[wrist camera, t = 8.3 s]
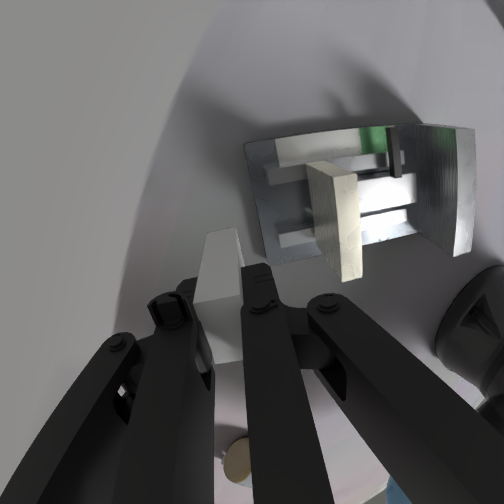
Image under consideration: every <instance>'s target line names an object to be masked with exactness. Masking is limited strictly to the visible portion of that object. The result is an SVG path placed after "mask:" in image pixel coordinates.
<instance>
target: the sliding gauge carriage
mask: <svg viewBox="0 0 504 504" xmlns="http://www.w3.org/2000/svg"><path fill="white" fill-rule="evenodd" d="M385 131H386V139H387V149H388V159H389V172H382V173H375V174H368V175H361V176H357V174H356V173H354V172H351V171H349V170H346V169H344V168H341V167H339V166H336V165H334V164H331V163H329V162H326V161H318V162H312V163H306V170H307V176H308V183H309V190H310V197H311V204H312V212H313V219H314V227H315V236H316V245H317V247H318V248H319V250H320V251H321V253H322V254H323V255H324V257H325V258H326V260H327V261H328V263H329V264H330V265H331V267H332V268H333V270H334V271H335V273H336V274H337V276H338V277H339V278H340V280H341V281H342V282H345V281H349V280H353V279H357V278H361V277H362V239H361V220H360V213H363V212H368V211H373V210H378V209H383V208H388V207H394V206H399V205H404V204H409V203H415V202H417V194H416V173H414V172H411V171H408V170H405V169H404V170H402V167H401V154H400V143H399V134H398V127H386V128H385Z"/></svg>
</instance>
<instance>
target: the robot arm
mask: <svg viewBox="0 0 504 504" xmlns="http://www.w3.org/2000/svg"><path fill="white" fill-rule="evenodd" d="M147 307H148V309H149V311H150V314H151V316H152V318H153V320H154V323H155V325H156V328H155V331H154V334H153V335H151V336H149V337H146V338H143V339H141V340H138V341H136V339H135V337H134V336H133V335H132V334H131V333H128V332H123V333H117V334H114V335H112V336H111V337H110V338H108V339H107V340H106V341H105V342H104V343H103V344H102V345H101V347H100V348H99V350H98V351H97V352H96V353H95V355H94V356H93V357H92V359H91V360H90V361H89V363H88V364H87V366H86V367H85V368H84V369H83V371H82V372H81V373H80V375H79V376H78V377H77V379H76V380H75V382H74V383H73V384H72V386H71V387H70V389H69V390H68V391H67V393H66V394H65V396H64V397H63V399H62V400H61V401H60V403H59V404H58V406H57V407H56V409H55V410H54V411H53V413H52V414H51V416H50V417H49V419H48V420H47V422H46V423H45V425H44V426H43V428H42V429H41V431H40V432H39V434H38V435H37V437H36V438H35V440H34V442H33V443H32V445H31V446H30V448H29V450H28V451H27V452H26V454H25V456H24V457H23V459H22V461H21V462H20V464H19V465H18V467H17V469H16V471H15V472H14V474H13V475H12V478H11V479H10V481H9V482H8V484H7V486H6V488H5V489H4V491H3V493H2V495H1V497H0V504H214V407H215V372H214V369H213V366H212V364H211V362H212V356H213V359H214V361H215V364H222V363H228V362H234V361H240V360H243V365H244V381H245V395H246V410H247V424H248V438H249V451H250V464H251V476H252V488H253V500H254V504H335V503H334V499H333V495H332V490H331V486H330V482H329V478H328V474H327V470H326V467H325V463H324V459H323V455H322V451H321V447H320V443H319V439H318V435H317V431H316V428H315V424H314V420H313V416H312V412H311V408H310V405H309V401H308V397H307V393H306V390H305V386H304V382H303V378H302V375H301V371H300V369H313V370H314V372H315V374H316V375H317V377H318V378H319V380H320V381H321V382H322V384H323V385H324V387H325V388H326V389H327V391H328V392H329V393H330V395H331V396H332V398H333V399H334V400H335V402H336V403H337V404H338V406H339V407H340V408H341V410H342V411H343V413H344V414H345V415H346V417H347V418H348V419H349V421H350V422H351V423H352V425H353V426H354V427H355V429H356V430H357V431H358V433H359V434H360V436H361V437H362V438H363V440H364V441H365V442H366V444H367V445H368V446H369V448H370V449H371V450H372V452H373V453H374V454H375V456H376V457H377V458H378V460H379V461H380V462H381V463H382V465H383V466H384V467H385V469H386V470H387V471H388V473H389V474H390V477H389V480H388V483H387V488H386V504H504V267H503V266H494V267H491V268H489V269H487V270H485V271H483V272H482V273H480V274H479V275H478V276H476V277H475V278H474V279H473V280H472V281H471V282H470V283H469V284H468V285H467V286H466V287H465V288H464V289H463V290H462V292H461V293H460V294H459V295H458V297H457V298H456V299H455V301H454V302H453V304H452V305H451V307H450V308H449V310H448V312H447V313H446V315H445V317H444V319H443V321H442V323H441V325H440V328H439V330H438V333H437V337H436V342H435V352H436V355H437V357H438V358H439V359H440V361H441V362H442V363H443V365H444V366H445V367H446V368H447V369H448V370H450V371H452V372H455V373H457V374H458V375H459V376H461V377H462V378H464V379H465V380H467V381H468V382H470V383H471V384H473V385H475V386H476V387H477V388H478V389H479V390H480V392H481V393H482V394H483V396H484V397H485V398H486V400H487V401H486V402H485V403H484V404H483V405H481V406H480V408H478V409H477V410H475V409H473V408H472V407H471V406H470V405H469V404H468V403H467V402H466V401H465V400H464V399H463V398H461V397H460V396H459V395H458V394H457V393H456V392H455V391H454V390H453V389H451V388H450V387H449V386H448V385H447V384H446V383H445V382H444V381H443V380H441V379H440V378H439V377H438V376H437V375H436V374H435V373H434V372H432V371H431V370H430V369H429V368H428V367H427V366H426V365H425V364H423V363H422V362H421V361H420V360H419V359H418V358H417V357H415V356H414V355H413V354H412V353H411V352H410V351H409V350H407V349H406V348H405V347H404V346H403V345H402V344H401V343H399V342H398V341H397V340H396V339H395V338H394V337H392V336H391V335H390V334H389V333H388V332H387V331H385V330H384V329H383V328H382V327H381V326H380V325H378V324H377V323H376V322H375V321H374V320H373V319H371V318H370V317H369V316H368V315H367V314H365V313H364V312H363V311H362V310H361V309H360V308H358V307H357V306H356V305H355V304H354V303H352V302H351V301H350V300H349V299H348V298H346V297H344V296H343V295H340V294H335V293H329V294H322V295H319V296H316V297H315V298H313V299H311V300H310V302H309V303H308V304H307V308H293V307H289V306H286V305H284V304H283V303H282V302H281V301H280V299H279V296H278V293H277V289H276V285H275V282H274V278H273V275H272V271H271V268H270V266H268V265H267V264H265V263H260V264H255V265H250V266H245V264H244V260H243V256H242V251H241V247H240V243H239V238H238V234H237V229H236V227H233V228H228V229H223V230H219V231H214V232H210V233H207V237H206V241H205V246H204V250H203V255H202V260H201V265H200V270H199V275H198V277H196V278H191V279H186V280H183V281H182V282H181V283H180V284H179V285H178V287H177V289H176V291H173V292H167V293H164V294H161V295H159V296H157V297H155V298H154V299H153V300H151V301H150V303H149V304H148V305H147ZM121 385H122V387H123V388H124V390H125V391H126V392H125V393H124V395H123V396H122V397H121V396H120V395H119V393H118V392H117V391H118V390H119V388H120V386H121Z"/></svg>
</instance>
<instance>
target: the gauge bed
mask: <svg viewBox="0 0 504 504" xmlns="http://www.w3.org/2000/svg"><path fill="white" fill-rule="evenodd" d="M386 127H398V134H399V143H400V154H401V167H402V170H404V169H405V170H408V171H411V172H414V173H416V194H417V202H415V203H409V204H404V205H399V206H394V207H388V208H383V209H378V210H373V211H368V212H363V213H360V220H361V239H362V245H367V244H371V243H375V242H380V241H384V240H388V239H392V238H397V237H401V236H405V235H409V234H413V233H419V234H421V235H422V236H424V237H425V238H427V239H428V240H430V241H431V242H433V243H434V244H435V245H437V246H438V247H440V248H441V249H442V250H444V251H445V252H447V253H448V254H449V255H451V256H452V257H455V256H458V255H461V254H465V253H468V252H470V251H471V246H472V238H473V228H474V217H475V201H476V144H475V129H470V128H463V127H456V126H447V125H438V124H427V123H413V124H391V125H376V126H363V127H353V128H343V129H334V130H325V131H318V132H310V133H303V134H296V135H290V136H284V137H278V138H272V139H266V140H261V141H256V142H250V143H245V144H244V149H245V154H246V158H247V163H248V168H249V173H250V178H251V183H252V188H253V193H254V198H255V203H256V208H257V213H258V218H259V223H260V228H261V233H262V238H263V243H264V248H265V253H266V258H267V262H268V266H273V265H278V264H282V263H287V262H291V261H296V260H300V259H305V258H310V257H314V256H319V255H323V254H322V253H321V251H320V250H319V248H318V247H317V245H316V236H315V227H314V219H313V212H312V204H311V197H310V190H309V183H308V176H307V170H306V163H312V162H318V161H326V162H329V163H331V164H334V165H336V166H339V167H341V168H344V169H346V170H349V171H351V172H354V173H356V174H357V176H361V175H368V174H375V173H382V172H389V159H388V149H387V139H386V131H385V128H386Z"/></svg>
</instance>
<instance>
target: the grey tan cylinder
mask: <svg viewBox="0 0 504 504" xmlns="http://www.w3.org/2000/svg"><path fill="white" fill-rule="evenodd" d="M221 464H222V465H224V473H225V475H226V477H227V478H228V479H229V480H230V481H231V482H233V483H236V484H238V485H241V486H244V487H249V488H252V476H251V464H250V451H249V438H241V439H239V440H237V441H236V442H234V443H233V444H232V445H231V446H230V448H229V449H228V451H227V453H226V455H224V456H223V458H222V462H221Z"/></svg>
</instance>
